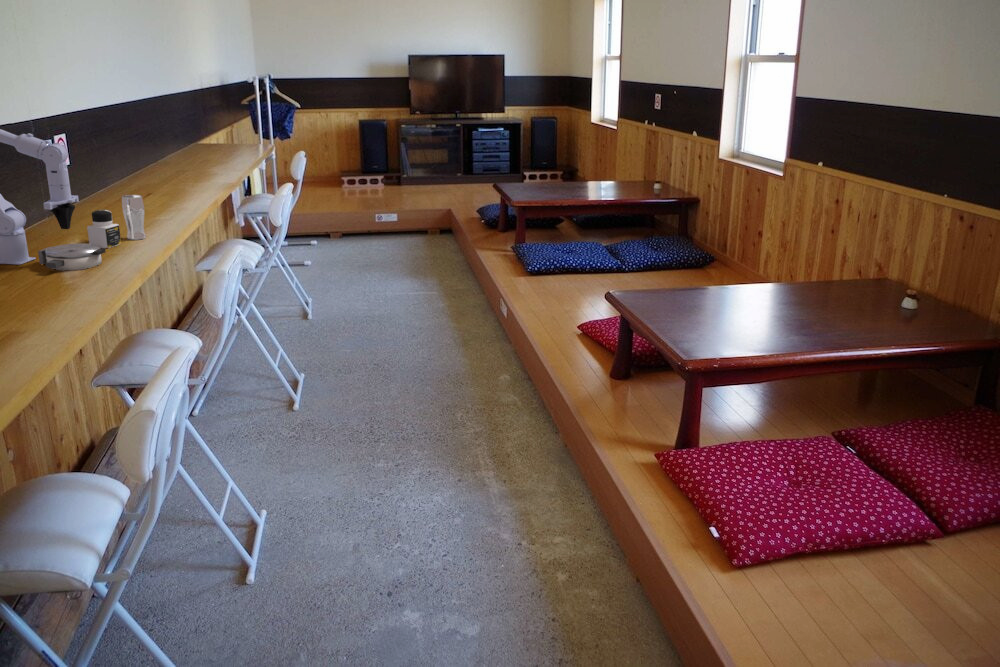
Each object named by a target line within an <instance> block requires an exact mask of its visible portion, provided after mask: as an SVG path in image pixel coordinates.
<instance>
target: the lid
mask: <svg viewBox="0 0 1000 667" xmlns="http://www.w3.org/2000/svg"><path fill="white" fill-rule="evenodd" d="M50 247H51V248H48V247H47V248H48V249H46V248H45V249H46V250H44V251H43V252H44V253H46V256H47V257H51V258H80V257H86V256H91V255H100V254H101V255H103V254H105V253H106V248H100V246H98V245H95V244H89V243H85V242H83V243H67V244H59V245H55V246H50Z"/></svg>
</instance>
